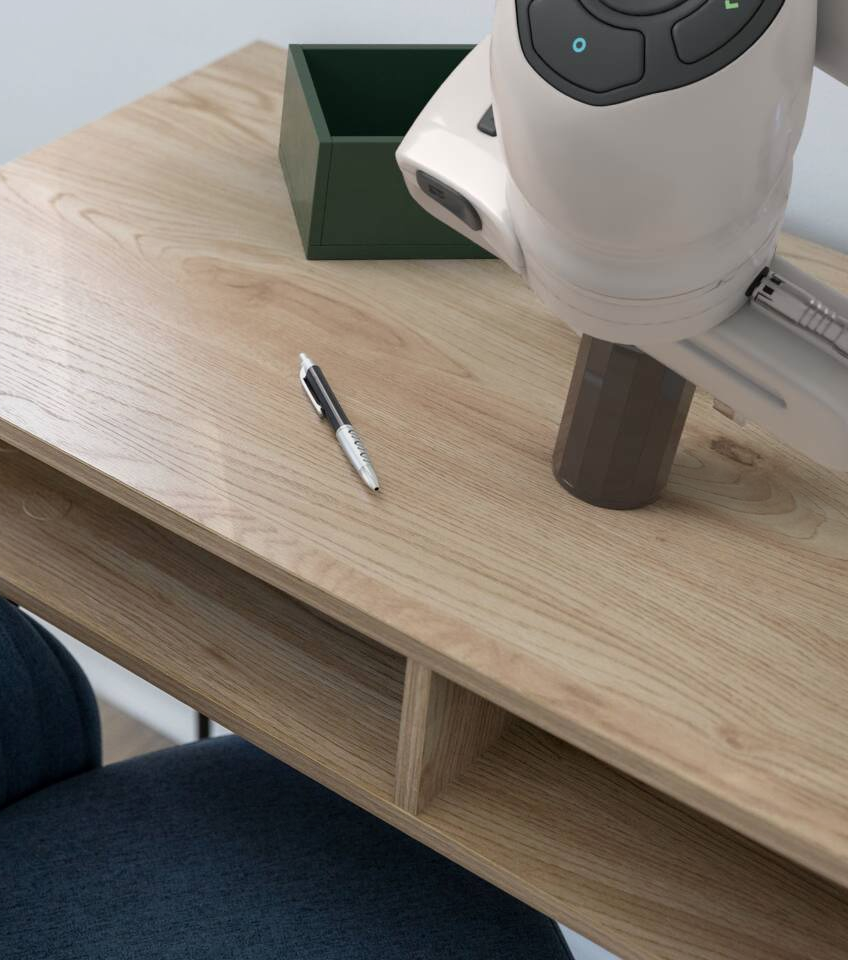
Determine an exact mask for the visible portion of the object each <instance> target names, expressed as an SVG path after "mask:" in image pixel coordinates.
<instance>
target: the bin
mask: <svg viewBox="0 0 848 960" xmlns="http://www.w3.org/2000/svg"><path fill="white" fill-rule="evenodd" d="M478 44H479V43H289V44H288V45H287V46H288V47H287V57H286V69H285V78H284V89H283V98H282V99H283V100H282V108H281V109H282V110H281V120H280V129H279V130H280V132H279V143H278V151H277V152H278V153H277V155H278V159H279V162H280V166H281V171H282V173H283V178H284V181H285V185H286V189H287V192H288V196H289V200H290V204H291V206H292V210H293V214H294V219H295V222H296V225H297V230H298V233H299V237H300V240H301V244H302V247H303V251H304V256H305V259H306V260H407V259H408V260H409V259H410V260H413V259H415V260H416V259H417V260H418V259H419V260H420V259H422V260H423V259H424V260H425V259H428V260H429V259H499V258H498V257H497V256H495V255H493V254H492V253H490V252H489V251H487V250H486V249H484V248H483V247H481V246H480V245H478V244H476V243H475V242H473V241H472V240H470V239H469V238H467V237H466V236H464V235H463V234H461V233H459V232H458V231H456V230H455V229H453V228H452V227H450V226H449V225H447V224H445V223H444V222H442V221H440V220H439V219H437V218H436V217H434V216H433V215H431V214H430V213H429V212H427V211H426V210H425V209H424V208H423V207H422V206H421V205H420V204H419V203H418V202H417V201H416V200H415V199H414V198H413V197H412V196H411V194H410V192H409V190H408V188H407V186H406V183H405V180H404V177H403V173H402V171H401V170H400V168H399V165H398V163H397V160H396V155H395V154H396V151H397V149H398V147H399V146H400V144H401V142H402V141H403V139H404V137H405V136H406V134H407V133H408V131H409V130H410V128H411V127H412V125H413V123H414V122H415V120H416V119H417V117H418V116H419V115H420V113H421V112H422V110H423V109H424V108H425V106H426V105H427V103H428V102H429V101H430V99H431V98H432V97H433V95H434V94H435V93H436V92H437V90H438V89H439V88H440V86H441V85H442V84H443V83H444V82H445V80H446V79H447V78H448V77H449V76H450V74H451V73H452V72H453V71H454V70H455V69H456V67H457V66H458V65H459V64H460V63H461V62H462V61H463V60H464V58H465V57H466V56H467V55H468V54H469V53H470V52H471V51H472V50H473V49H474V48H475V47H476V46H477V45H478Z"/></svg>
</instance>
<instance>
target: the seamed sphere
mask: <svg viewBox="0 0 848 960" xmlns="http://www.w3.org/2000/svg"><path fill="white" fill-rule="evenodd" d="M568 327H569V329H571V331H572V332H574V334H575V335H576V336H577V337H578V338H580V339H581V338H582V334H583V332H581V331H579V330H577V329H575V328H573V327H571V326H570V325H568Z"/></svg>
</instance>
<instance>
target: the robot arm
mask: <svg viewBox="0 0 848 960" xmlns="http://www.w3.org/2000/svg"><path fill="white" fill-rule="evenodd" d="M491 21H492V22H491V28H490V32H489V33H488V34H487V35H486V36H484V38H482V39H481V40H480V41H479V42H478V43H477V44H478V45H477V46H476V47H475V48H474V49H473V50H472V51H471V52H470V53H469V54H468V55H467V56H466V57H465V58H464V60H463V61H462V62H461V63H460V64H459V65H458V66H457V67H456V69H455V70H454V71H453V72H452V73H451V74H450V76H449V77H448V78H447V79H446V80H445V82H444V83H443V84H442V85H441V86H440V88H439V89H438V90H437V92H436V93H435V94H434V95H433V97H432V98H431V99H430V101H429V102H428V103H427V105H426V106H425V108H424V109H423V110H422V112H421V113H420V115H419V116H418V117H417V119H416V120H415V122H414V123H413V125H412V127H411V128H410V130H409V131H408V133H407V134H406V136H405V137H404V139H403V141H402V142H401V144H400V146H399V147H398V149H397V151H396V154H395V155H396V160H397V163H398V165H399V168H400V170H401V171H402V173H403V177H404V180H405V183H406V186H407V188H408V190H409V192H410V194H411V196H412V197H413V198H414V199H415V200H416V201H417V202H418V203H419V204H420V205H421V206H422V207H423V208H424V209H425V210H426V211H427V212H429V213H430V214H431V215H433V216H434V217H436V218H437V219H439V220H440V221H442V222H444V223H445V224H447V225H449V226H450V227H452V228H453V229H455V230H456V231H458V232H459V233H461V234H463V235H464V236H466V237H467V238H469V239H470V240H472V241H473V242H475V243H476V244H478V245H480V246H481V247H483V248H484V249H486V250H487V251H489V252H490V253H492V254H493V255H495V256H497V257H498V258H497V259H500V260H501V261H503V262H504V263H506V264H507V266H509V268H510V269H511V270H512V271H514V273H516V274H518V275H519V276H520V275H521V279H522V284H523V286H524V287H526V288H527V289H529V290H530V291H532V292H533V293H534V294H535V296H536V297H537V298H538V299H539V301H540V302H541V303H542V304H543V306H545V307H546V308H547V309H548V310H549V311H550V312H551V313H552V314H553V315H554V316H556V317H557V318H558V319H559V320H561V321H562V322H563V323H565V324H567V325H568V326H569V325H570V326H571V327H573V328H575V329H577V330H579V331H581V332H583V333H585V334H587V335H590V336H593V337H595V338H598V339H602V340H605V341H609V342H614V343H620V344H628V345H634V346H636V347H637V348H639V349H640V350H642V351H643V352H645V353H646V354H648V355H650V356H651V357H653V358H654V359H656V360H657V361H659V362H660V363H662V364H663V365H665V366H667V367H668V368H670V369H671V370H673V371H674V372H676V373H677V374H679V375H680V376H682V377H684V378H685V379H687V380H688V381H690V382H691V383H693V384H694V385H696V388H699V389H701V390H702V391H704V392H705V393H706V394H708V395H710V396H711V397H712V398H713V401H712V403H713V405H712V409H714V410H716V411H717V412H718V413H720V414H721V415H722V416H724V417H726V418H727V419H729V420H730V421H732V422H733V423H735V424H736V425H738V426H739V427H741V428H745V427H746V426H747V425H748V424H749V423H750V422H751V423H753V424H754V425H756V426H758V427H759V428H760V429H762V430H764V432H767V433H769V434H770V435H772V436H773V437H775V438H776V439H778V440H779V441H781V442H783V443H784V444H785V445H787V446H789V447H790V448H792V449H793V450H794V451H796V452H798V453H800V454H801V455H802V456H804V457H805V458H807V459H808V460H810V461H811V462H813V463H815V464H816V465H818V466H821V467H823V468H826V469H828V470H831V471H837V472H844V473H847V472H848V295H846V294H845V293H843V292H841V291H839V290H838V289H836V288H835V287H833V286H831V285H829V284H828V283H826V282H824V281H823V280H821V279H819V278H818V277H816V276H815V275H813V274H811V273H809V272H808V271H806V270H804V269H803V268H801V267H799V266H797V265H796V264H794V263H792V262H791V261H789V260H788V259H785V258H784V257H782V256H781V255H779V254H778V253H777V251H778V247H779V245H780V244H779V243H780V238H781V234H782V229H783V224H784V220H785V217H786V211H787V207H788V203H789V197H790V193H791V188H792V181H793V173H794V156H795V153H796V151H797V148H798V146H799V143H800V141H801V138H802V135H803V132H804V128H805V124H806V119H807V114H808V107H809V104H810V102H809V101H810V95H811V89H812V83H813V77H814V76H813V75H814V67H815V68H817V69H818V70H820V71H822V72H823V73H825V74H826V75H828V76H829V77H831V78H833V79H835V80H836V81H838V82H839V83H841V84H843V85H844V86H846V87H848V0H495V2H494V9H493V14H492V20H491Z"/></svg>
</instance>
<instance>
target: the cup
mask: <svg viewBox="0 0 848 960" xmlns="http://www.w3.org/2000/svg"><path fill="white" fill-rule="evenodd" d="M574 363H575V364H574V367H573V371H572V376H571V379H570V383H569V387H568V391H567V395H566V400H565V403H564V408H563V411H562V415H561V420H560V423H559V428H558V431H557V436H556V439H555V443H554V449H553V452H552V456H551V471H552V474H553V476H554V478H555V480H556V482H558V484H559V485H560V486H561V487H562V489H564V490H565V491H566V492H568V493H569V494H570V495H572V496H573V497H575V498H577V499H578V500H581V501H583V502H585V503H587V504H590V505H594V506H596V507H601V508H605V509H612V510H633V509H634V510H635V509H639V508H643V507H646V506H649V505H651V504H652V503H654V502H656V501H657V500H658V499H659V498H660V497H661V496H662V494H663V493H664V491H665V488H666V487H667V483H668V480H669V477H670V475H671V474H670V473H671V470H672V467H673V464H674V460H675V456H676V454H677V450H678V448H679V444H680V441H681V437H682V434H683V431H684V429H685V426H686V425H685V424H686V422H687V419H688V415H689V411H690V408H691V406H692V402H693V399H694V395H695V393H696V389H697V386H696V385H694V384H693V383H691V382H690V381H688V380H687V379H685V378H684V377H682V376H680V375H679V374H677V373H676V372H674V371H673V370H671V369H670V368H668V367H667V366H665V365H663V364H662V363H660V362H659V361H657V360H656V359H654V358H653V357H651V356H650V355H648V354H646V353H645V352H643V351H642V350H640V349H639V348H637V347H636V346H634V345H628V344H620V343H614V342H609V341H605V340H602V339H598V338H595V337H593V336H590V335H587V334H585V333H583V334H582V338H580V343H579V347H578V351H577V355H576V359H575V362H574Z"/></svg>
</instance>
